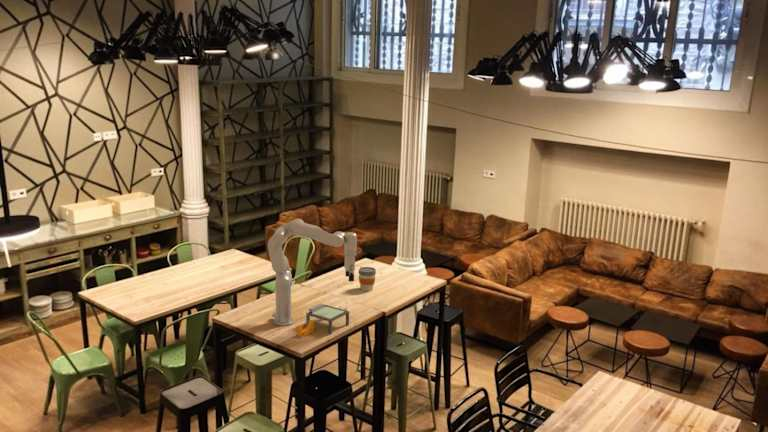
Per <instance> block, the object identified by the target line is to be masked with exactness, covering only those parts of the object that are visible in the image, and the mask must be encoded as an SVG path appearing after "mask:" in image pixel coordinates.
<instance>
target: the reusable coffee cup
mask: <svg viewBox="0 0 768 432" xmlns="http://www.w3.org/2000/svg"><path fill="white" fill-rule="evenodd" d="M376 274H377V271H376V268H374V267H370V266H363V267H360V268H358V281H359V286H360V290H361V291H362V292H371V291H373V290H374V284H375V281H376Z"/></svg>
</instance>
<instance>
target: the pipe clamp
mask: <svg viewBox="0 0 768 432" xmlns="http://www.w3.org/2000/svg"><path fill="white" fill-rule="evenodd" d="M314 331H315V320H311V319H310V321H309V323H308V326H307V327H305V328H303V325H301V324H297V325H296V336H298V337H301V338H303V336H304V337H306V336H308V335H310V333H311V332H314Z"/></svg>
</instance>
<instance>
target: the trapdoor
mask: <svg viewBox="0 0 768 432" xmlns="http://www.w3.org/2000/svg"><path fill="white" fill-rule="evenodd" d="M324 305H325V304H324V303H318V304H316V305H314V306H311V307H310V308H308V312H312V313H311V314H314V315H318V316H321V317H325V318H328V319H332V318H334V317H336V316H338V315H340V314H342V313H344V312H345V311H341V310H337V309H334V308H330V307H325V306H324Z"/></svg>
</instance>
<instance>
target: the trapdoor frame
mask: <svg viewBox="0 0 768 432" xmlns="http://www.w3.org/2000/svg"><path fill="white" fill-rule="evenodd" d="M324 306H325V307H330V308H334V309H337V310H341V311H345V312H344V313H342V314H340V315H338V316H336V317H334V318H332V319H328V318H325V317H321V316H318V315H314V314H311V313H312V312H311V311H308V312H306V316H305V317H306V318H305V319H306V320H305V323H306V327H307V326H308V323H309V321H310V320H311V317H313V318H315V319H319V320H323V321H326V322H328V334H329V335H332V334H333V322H334V321H336V320H338V319H340V318H341V317H344V316H345V326H349V325H350V311H349V310H346V309H344V308H343V309H342V308H339V307H336V306H335V307H334V306H331V305H328V304H324ZM306 327H305V328H306Z"/></svg>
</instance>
